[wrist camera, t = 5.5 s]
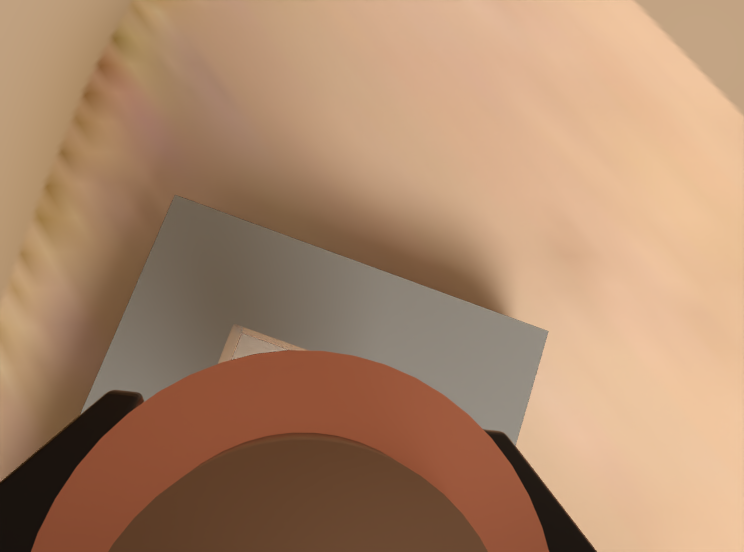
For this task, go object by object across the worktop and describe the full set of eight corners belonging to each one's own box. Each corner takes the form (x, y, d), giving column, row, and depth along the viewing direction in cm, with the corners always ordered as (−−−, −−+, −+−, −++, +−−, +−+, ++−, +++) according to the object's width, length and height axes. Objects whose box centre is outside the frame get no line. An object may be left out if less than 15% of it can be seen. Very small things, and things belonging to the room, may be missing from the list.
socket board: (408, 699, 21) (427, 750, 18) (39, 577, 20) (-4, 609, 17) (515, 339, 23) (548, 331, 20) (190, 220, 22) (175, 194, 19)
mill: (406, 553, 15) (686, 946, 4) (213, 598, 14) (-25, 1190, 4) (371, 364, 16) (535, 292, 5) (185, 398, 15) (-85, 405, 4)
